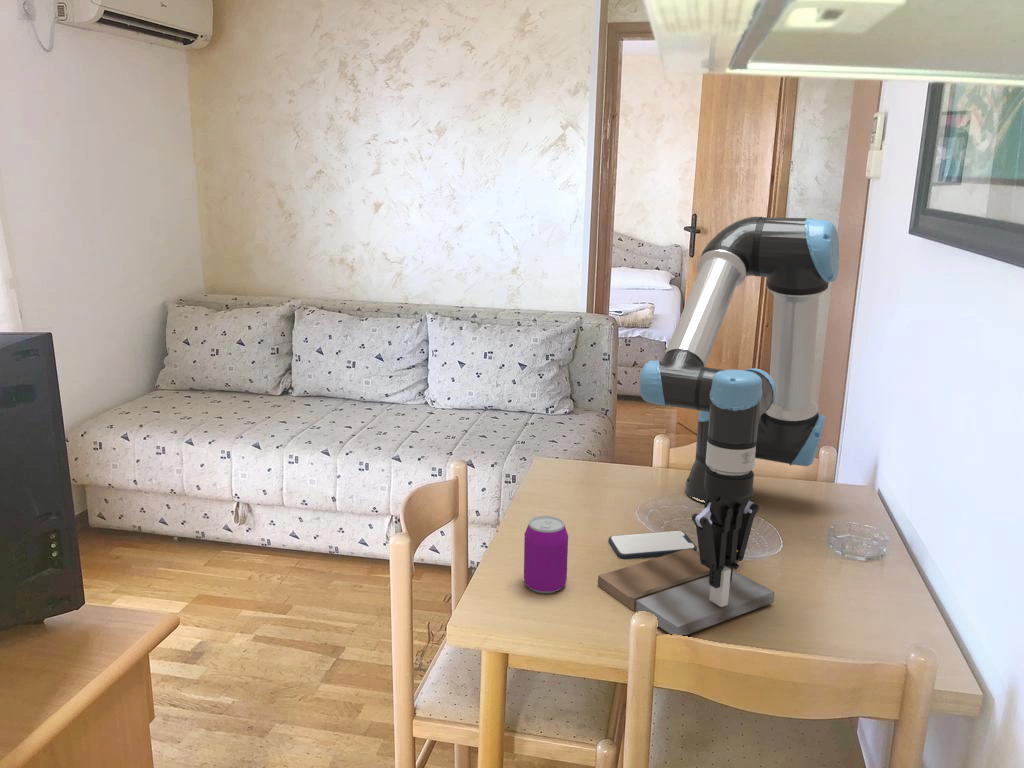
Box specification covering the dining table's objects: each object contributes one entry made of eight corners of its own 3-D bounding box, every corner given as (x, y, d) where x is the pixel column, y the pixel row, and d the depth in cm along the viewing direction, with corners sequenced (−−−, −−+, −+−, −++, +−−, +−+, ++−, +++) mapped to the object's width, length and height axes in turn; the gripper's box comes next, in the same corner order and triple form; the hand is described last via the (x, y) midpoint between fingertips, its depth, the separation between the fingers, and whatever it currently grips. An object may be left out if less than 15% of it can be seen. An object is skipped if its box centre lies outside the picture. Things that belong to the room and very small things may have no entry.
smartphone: (619, 563, 153) (698, 556, 155) (619, 555, 153) (699, 548, 155) (606, 542, 161) (682, 536, 164) (606, 535, 161) (682, 529, 163)
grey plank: (730, 579, 145) (730, 569, 145) (773, 602, 137) (774, 591, 137) (635, 611, 134) (636, 600, 134) (677, 638, 126) (677, 627, 125)
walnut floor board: (689, 557, 154) (689, 546, 154) (727, 579, 146) (728, 567, 145) (597, 585, 143) (598, 573, 142) (633, 611, 135) (634, 598, 134)
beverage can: (532, 571, 148) (534, 511, 145) (572, 579, 145) (574, 518, 142) (517, 590, 141) (518, 527, 138) (558, 599, 138) (560, 535, 135)
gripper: (717, 482, 120) (706, 623, 126) (776, 468, 127) (763, 602, 133) (682, 467, 127) (673, 602, 132) (740, 454, 133) (729, 583, 139)
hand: (718, 602), depth 133 cm, fingers closed
